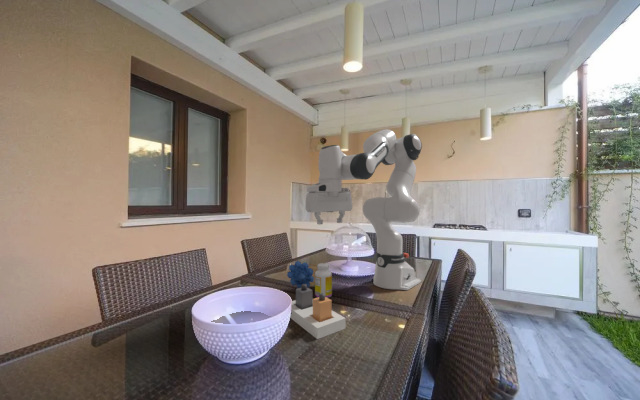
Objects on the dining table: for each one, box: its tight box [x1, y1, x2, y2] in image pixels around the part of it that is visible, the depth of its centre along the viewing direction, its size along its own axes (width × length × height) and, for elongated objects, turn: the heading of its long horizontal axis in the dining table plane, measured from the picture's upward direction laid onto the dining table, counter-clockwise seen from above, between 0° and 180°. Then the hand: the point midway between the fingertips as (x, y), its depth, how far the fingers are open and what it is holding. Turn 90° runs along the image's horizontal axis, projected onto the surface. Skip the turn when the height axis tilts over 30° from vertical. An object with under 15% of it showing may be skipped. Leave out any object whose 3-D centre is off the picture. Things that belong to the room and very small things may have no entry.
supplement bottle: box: [314, 262, 333, 299], centre depth 102 cm, size 7×7×13 cm
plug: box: [313, 293, 333, 322], centre depth 77 cm, size 4×4×10 cm
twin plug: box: [295, 284, 314, 310], centre depth 85 cm, size 4×4×10 cm
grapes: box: [286, 260, 315, 289], centre depth 110 cm, size 12×7×12 cm, turn 104°
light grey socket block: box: [290, 299, 347, 340], centre depth 81 cm, size 10×20×4 cm, turn 35°
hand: (330, 223), depth 100 cm, fingers open, 8 cm apart
